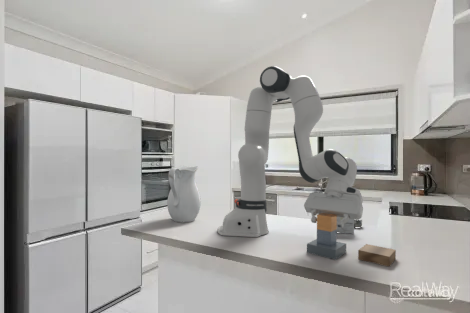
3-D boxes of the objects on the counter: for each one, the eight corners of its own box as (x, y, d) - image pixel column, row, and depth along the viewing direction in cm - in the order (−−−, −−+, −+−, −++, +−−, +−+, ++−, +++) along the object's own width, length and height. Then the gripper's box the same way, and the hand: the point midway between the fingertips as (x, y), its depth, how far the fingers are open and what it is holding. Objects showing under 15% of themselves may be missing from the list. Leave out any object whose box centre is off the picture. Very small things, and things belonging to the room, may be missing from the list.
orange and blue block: (316, 243, 96) (317, 214, 96) (322, 240, 100) (323, 212, 100) (330, 246, 93) (331, 216, 93) (336, 243, 97) (336, 214, 97)
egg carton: (337, 226, 137) (337, 218, 137) (340, 224, 143) (340, 216, 143) (360, 230, 131) (360, 221, 131) (363, 227, 137) (363, 218, 137)
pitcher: (177, 215, 154) (178, 165, 154) (205, 218, 149) (206, 166, 149) (152, 224, 131) (153, 166, 132) (183, 228, 126) (185, 167, 126)
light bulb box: (349, 230, 128) (350, 207, 129) (354, 234, 122) (354, 209, 122) (326, 229, 129) (326, 206, 130) (329, 233, 123) (329, 208, 123)
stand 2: (358, 259, 90) (358, 250, 90) (366, 252, 97) (366, 244, 97) (389, 266, 84) (389, 256, 84) (395, 259, 91) (395, 249, 91)
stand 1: (306, 252, 96) (306, 243, 96) (318, 246, 103) (319, 237, 103) (335, 259, 89) (335, 250, 89) (346, 252, 97) (346, 243, 97)
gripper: (308, 185, 109) (296, 214, 101) (364, 190, 95) (354, 223, 88) (313, 196, 112) (301, 224, 104) (367, 202, 99) (358, 234, 91)
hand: (326, 224), depth 96 cm, fingers open, 8 cm apart
